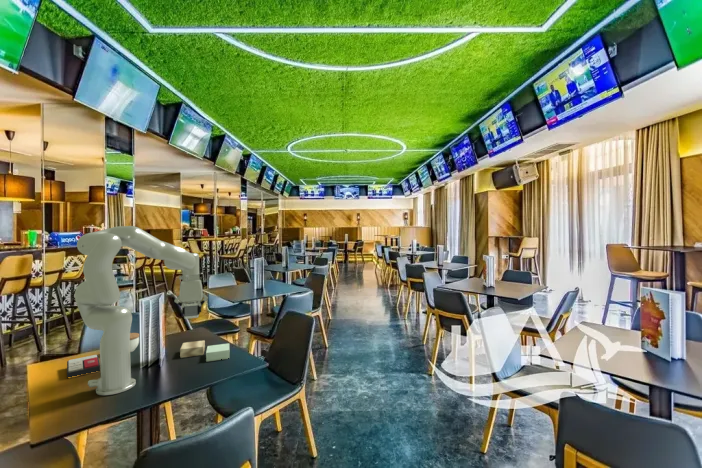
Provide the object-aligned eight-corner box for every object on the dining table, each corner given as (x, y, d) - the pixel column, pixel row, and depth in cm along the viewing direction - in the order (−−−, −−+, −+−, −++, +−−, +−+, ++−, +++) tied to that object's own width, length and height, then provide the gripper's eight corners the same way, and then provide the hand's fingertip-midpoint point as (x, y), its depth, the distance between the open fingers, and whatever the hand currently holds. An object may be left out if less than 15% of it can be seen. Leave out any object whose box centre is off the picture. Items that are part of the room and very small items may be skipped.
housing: (184, 318, 162) (184, 303, 161) (185, 315, 167) (185, 300, 167) (197, 317, 164) (197, 302, 163) (199, 314, 169) (198, 299, 169)
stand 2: (206, 361, 154) (206, 353, 154) (207, 354, 163) (207, 346, 163) (229, 358, 157) (229, 349, 157) (229, 351, 167) (229, 343, 167)
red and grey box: (66, 371, 138) (67, 359, 150) (67, 381, 138) (67, 368, 150) (100, 364, 145) (97, 352, 157) (100, 373, 145) (98, 361, 157)
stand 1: (180, 357, 159) (180, 349, 159) (183, 350, 169) (183, 342, 169) (203, 354, 163) (203, 346, 163) (204, 348, 172) (204, 340, 172)
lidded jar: (144, 348, 173) (144, 330, 173) (124, 356, 163) (123, 336, 163) (130, 346, 177) (129, 328, 177) (109, 353, 167) (108, 334, 167)
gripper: (170, 280, 159) (171, 318, 159) (209, 277, 165) (210, 314, 165) (172, 278, 166) (173, 314, 166) (210, 276, 172) (211, 311, 172)
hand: (191, 314), depth 165 cm, fingers closed on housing, 5 cm apart
